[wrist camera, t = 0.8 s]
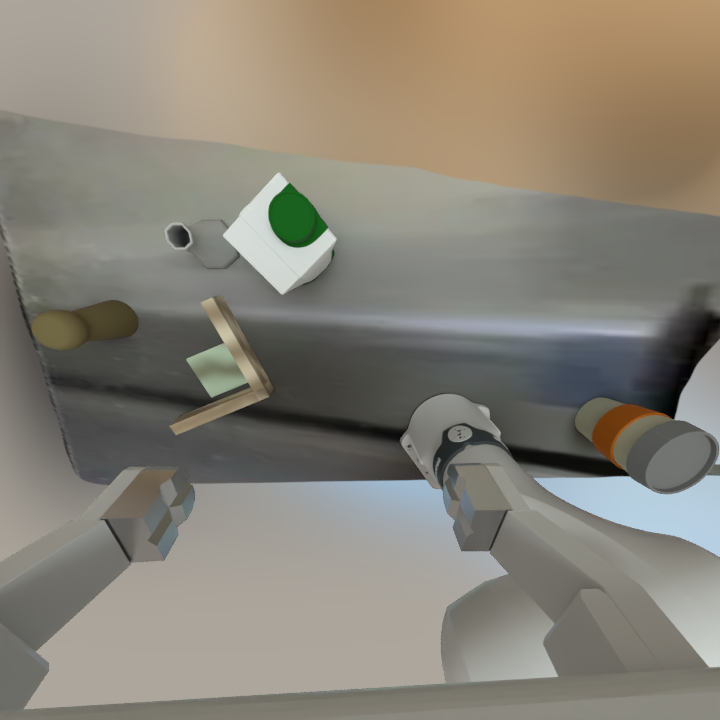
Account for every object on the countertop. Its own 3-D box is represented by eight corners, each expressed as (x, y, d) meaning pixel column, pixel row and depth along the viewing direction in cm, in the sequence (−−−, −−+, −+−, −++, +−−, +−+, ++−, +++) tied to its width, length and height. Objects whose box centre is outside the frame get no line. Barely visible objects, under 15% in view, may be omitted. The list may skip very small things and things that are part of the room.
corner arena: (274, 388, 49) (269, 396, 45) (187, 424, 50) (176, 435, 46) (222, 295, 43) (212, 297, 40) (124, 338, 44) (107, 343, 41)
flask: (225, 211, 40) (189, 192, 30) (247, 260, 42) (221, 256, 32) (181, 229, 40) (131, 215, 30) (206, 276, 42) (167, 277, 33)
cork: (105, 338, 44) (32, 358, 33) (91, 301, 42) (9, 310, 32) (143, 335, 44) (82, 354, 34) (131, 298, 42) (63, 306, 32)
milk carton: (342, 254, 43) (346, 237, 24) (303, 293, 44) (277, 307, 25) (302, 208, 40) (271, 149, 21) (262, 251, 42) (199, 231, 23)
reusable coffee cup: (602, 446, 59) (687, 501, 45) (556, 434, 57) (628, 487, 43) (635, 397, 56) (737, 439, 42) (586, 382, 54) (676, 421, 39)
